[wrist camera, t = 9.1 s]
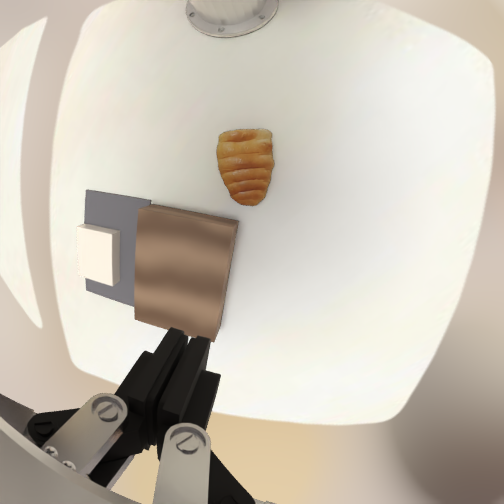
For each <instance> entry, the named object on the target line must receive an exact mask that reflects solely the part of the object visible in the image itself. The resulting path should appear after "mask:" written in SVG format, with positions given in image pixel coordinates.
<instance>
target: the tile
mask: <svg viewBox="0 0 504 504" xmlns="http://www.w3.org/2000/svg"><path fill="white" fill-rule="evenodd" d="M77 257H78V273H79V276H82V277H85V278H88V279H91V280H94V281H97V282H100V283H103V284H107V285H110V286H114V285H115V284H116V283H118V282H119V281H120V231H119V230H114V229H109V228H104V227H100V226H95V225H90V224H82V225H80V226H77Z"/></svg>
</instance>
